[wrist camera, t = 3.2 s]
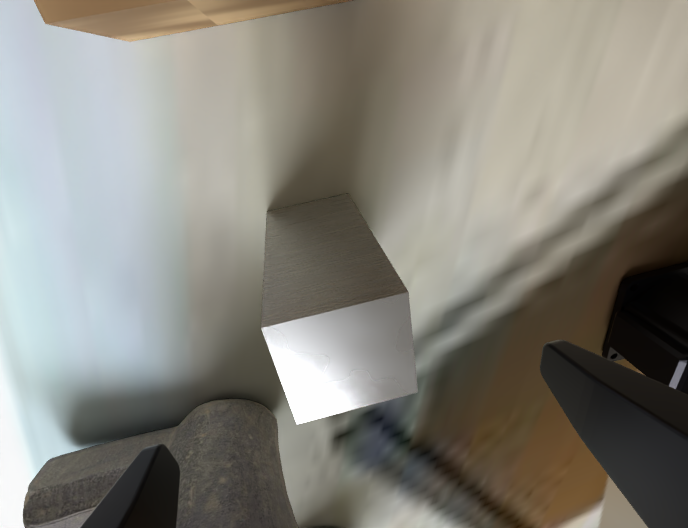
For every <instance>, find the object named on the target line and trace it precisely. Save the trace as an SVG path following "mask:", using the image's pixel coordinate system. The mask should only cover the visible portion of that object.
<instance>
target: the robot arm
mask: <svg viewBox="0 0 688 528" xmlns="http://www.w3.org/2000/svg"><path fill="white" fill-rule="evenodd" d="M602 356H603V357H601V356H599V355H597V354H595V353H592V352H590V351H588V350H586V349H583V348H581V347H579V346H577V345H574V344H572V343H570V342H567V341H565V340H556V341H552V342H548V343H546V344H545V345H544V346H543V351H542V357H541V364H540V371H541V374H542V376H543V378H544V380H545V382H546V383H547V385H548V386H549V388H550V390H551V391H552V393H553V394H554V396H555V398H556V399H557V401H558V403H559V404H560V406H561V407H562V409H563V411H564V412H565V414H566V416H567V417H568V419H569V420H570V422H571V424H572V425H573V427H574V428H575V430H576V431H577V433H578V435H579V436H580V438H581V439H582V440H583V442H584V443H585V444H586V446H587V447H588V449H589V450H590V451H591V453H592V454H593V455H594V457H595V458H596V459H597V460H598V462H599V463H600V464H601V466H602V467H603V468H604V470H605V471H606V472H607V474H608V475H609V476H610V478H611V479H612V480H613V482H614V483H615V484H616V486H617V487H618V488H619V490H620V491H621V492H622V494H623V495H624V496H625V498H626V499H627V500H628V501H629V503H630V504H631V505H632V507H633V508H634V509H635V511H636V512H637V513H638V515H639V516H640V517H641V519H642V520H643V521H644V523H645V524H646V525H647V527H648V528H688V262H687V263H683V264H679V265H675V266H671V267H667V268H663V269H659V270H656V271H652V272H648V273H644V274H640V275H636V276H632V277H629V278H627V279H625V280H624V281H623V282H622V284H621V286H620V289H619V293H618V297H617V301H616V304H615V308H614V312H613V315H612V319H611V323H610V327H609V330H608V334H607V338H606V341H605V345H604V349H603V353H602ZM624 358H625V359H626V360H627V361H629V362H630V363H631V364H632V365H634V366H635V367H636V368H637V369H638V370H640V371H641V372H642V373H643V374H645V375H646V376H645V375H642V374H640V373H638V372H635V371H633V370H631V369H629V368H626V367H624V366H622V365H620V364H617V363H615V362H613V361H617V360H621V359H624ZM179 485H180V467H179V464H178V462H177V461H176V459H175V458H174V456H173V455H172V453H171V452H170V451H169V449H168V448H167V446H166V445H164V444H156V445H153V446H149V447H146V448H144V449H143V450H142V451H141V452H140V453H139V454H138V455H137V456H136V458H135V459H134V460H133V461H132V463H131V464H130V465H129V466H128V468H127V469H126V470H125V471H124V473H123V474H122V475H121V476H120V478H119V479H118V480H117V482H116V483H115V484H114V485H113V487H112V488H111V489H110V490H109V492H108V493H107V494H106V495H105V497H104V498H103V499H102V500H101V502H100V503H99V504H98V505H97V507H96V508H95V509H94V510H93V512H92V513H91V514H90V515H89V517H88V518H87V519H86V521H85V522H84V523H83V524H82V526H81V527H80V528H176V525H177V512H178V499H179Z"/></svg>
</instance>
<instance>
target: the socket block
mask: <svg viewBox="0 0 688 528" xmlns="http://www.w3.org/2000/svg"><path fill="white" fill-rule="evenodd" d="M348 1H353V0H34V2H35V4H36V6H37V8H38V10H39V12H40V14H41V16H42V18H43V20H44V22H45V24H49V25H54V26H58V27H63V28H68V29H73V30H77V31H82V32H87V33H91V34H96V35H101V36H106V37H110V38H115V39H120V40H124V41H129V42H131V41H137V40H142V39H148V38H153V37H158V36H164V35H169V34H175V33H180V32H186V31H191V30H196V29H202V28H207V27H213V26H218V25H223V24H229V23H234V22H240V21H245V20H251V19H256V18H261V17H267V16H272V15H278V14H283V13H288V12H294V11H299V10H305V9H310V8H315V7H321V6H326V5H332V4H337V3H343V2H348Z"/></svg>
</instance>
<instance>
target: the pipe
mask: <svg viewBox="0 0 688 528" xmlns="http://www.w3.org/2000/svg"><path fill="white" fill-rule="evenodd" d="M156 444H164V445H166V446H167V448H168V449H169V451H170V452H171V453H172V455H173V456H174V458H175V459H176V461H177V462H178V464H179V467H180V485H179V499H178V512H177V525H176V528H299V527H298V525H297V522H296V520H295V517H294V514H293V511H292V507H291V504H290V501H289V498H288V495H287V491H286V486H285V481H284V476H283V472H282V466H281V460H280V453H279V446H278V426H277V419H276V418H275V416H274V415H273V413H272V412H271V411H269V410H268V409H267V408H266V407H265V406H263V405H261V404H259V403H257V402H254V401H250V400H245V399H224V400H215V401H210V402H207V403H205V404H202V405H199V406H197V407H196V408H195V409H194V410H192V411H191V412H190V413H189V414H188V415H187V416H186V417H185V418H184V420H183V421H182V422H181V423H180V424H179V425H178V426H176V427H171V428H167V429H161V430H156V431H152V432H148V433H144V434H140V435H135V436H131V437H127V438H123V439H119V440H115V441H112V442H108V443H104V444H100V445H96V446H92V447H89V448H85V449H82V450H78V451H75V452H71V453H67V454H64V455H61V456H57V457H54V458H52V459H50V460H48V461H47V462H46V464H45V465H44V466H43V467H42V468H41V470H40V471H39V472H38V474H37V475H36V476H35V478H34V479H33V480H32V482H31V483H30V485H29V487H28V492H27V494H26V497H25V501H24V509H23V523H24V526H25V528H80V527H81V526H82V524H83V523H84V522H85V521H86V519H87V518H88V517H89V515H90V514H91V513H92V512H93V510H94V509H95V508H96V507H97V505H98V504H99V503H100V502H101V500H102V499H103V498H104V497H105V495H106V494H107V493H108V492H109V490H110V489H111V488H112V487H113V485H114V484H115V483H116V482H117V480H118V479H119V478H120V476H121V475H122V474H123V473H124V471H125V470H126V469H127V468H128V466H129V465H130V464H131V463H132V461H133V460H134V459H135V458H136V456H137V455H138V454H139V453H140V452H141V451H142V450H143V449H144V448H146V447H149V446H153V445H156Z"/></svg>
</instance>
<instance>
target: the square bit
mask: <svg viewBox="0 0 688 528" xmlns="http://www.w3.org/2000/svg"><path fill="white" fill-rule="evenodd" d="M261 330H262V332H263V335H264V338H265V340H266V343H267V346H268V348H269V351H270V354H271V356H272V359H273V362H274V364H275V367H276V370H277V372H278V375H279V378H280V381H281V383H282V386H283V389H284V391H285V394H286V397H287V399H288V402H289V405H290V407H291V410H292V413H293V415H294V418H295V421H296V423H297V424H301V423H304V422H308V421H312V420H316V419H319V418H323V417H327V416H331V415H335V414H338V413H342V412H346V411H350V410H353V409H357V408H361V407H365V406H368V405H372V404H376V403H380V402H383V401H387V400H391V399H395V398H398V397H402V396H406V395H410V394H413V393H417V392H418V389H417V378H416V367H415V357H414V346H413V335H412V325H411V314H410V304H409V293H408V291H407V289H406V287H405V286H404V284H403V282H402V281H401V279H400V277H399V276H398V274H397V273H396V271H395V269H394V268H393V266H392V264H391V263H390V261H389V259H388V258H387V256H386V255H385V253H384V251H383V250H382V248H381V246H380V245H379V243H378V242H377V240H376V238H375V237H374V235H373V233H372V232H371V230H370V228H369V227H368V225H367V224H366V222H365V220H364V219H363V217H362V215H361V214H360V212H359V210H358V209H357V207H356V206H355V204H354V202H353V201H352V199H351V197H350V196H349V194H348V193H347V194H343V195H338V196H334V197H329V198H325V199H320V200H316V201H311V202H307V203H302V204H298V205H293V206H289V207H284V208H280V209H275V210H271V211H267V218H266V238H265V258H264V278H263V298H262V319H261Z"/></svg>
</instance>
